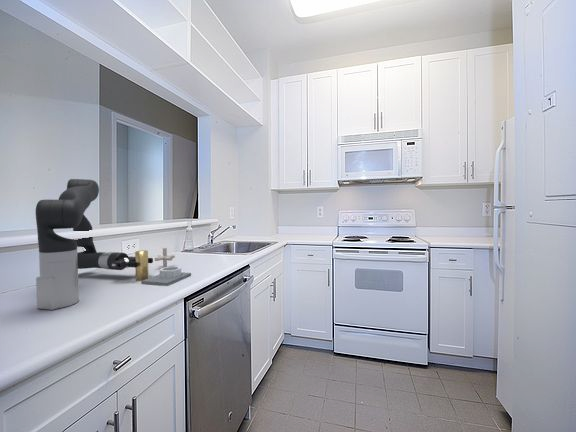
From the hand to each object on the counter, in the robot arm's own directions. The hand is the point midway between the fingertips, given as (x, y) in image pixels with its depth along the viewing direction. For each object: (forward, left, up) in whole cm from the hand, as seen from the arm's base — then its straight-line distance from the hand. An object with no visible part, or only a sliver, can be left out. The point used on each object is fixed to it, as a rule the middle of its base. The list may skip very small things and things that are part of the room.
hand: (145, 262), depth 114 cm
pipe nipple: (0, +2, -7) cm, 7 cm away
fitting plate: (+2, -9, -7) cm, 12 cm away
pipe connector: (+21, +7, -7) cm, 23 cm away
